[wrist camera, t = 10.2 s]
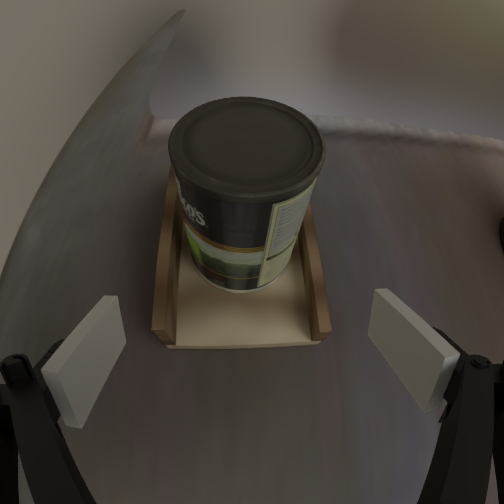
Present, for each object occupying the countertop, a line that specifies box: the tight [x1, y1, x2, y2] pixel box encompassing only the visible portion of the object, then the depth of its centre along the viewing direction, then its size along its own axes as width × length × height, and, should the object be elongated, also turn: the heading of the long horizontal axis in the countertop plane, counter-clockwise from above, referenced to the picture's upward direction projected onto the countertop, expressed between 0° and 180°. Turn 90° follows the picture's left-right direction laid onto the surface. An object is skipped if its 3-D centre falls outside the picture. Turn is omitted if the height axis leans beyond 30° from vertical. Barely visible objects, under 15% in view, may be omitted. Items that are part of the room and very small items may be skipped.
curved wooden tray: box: [151, 163, 331, 349], centre depth 30 cm, size 20×14×6 cm
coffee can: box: [168, 97, 326, 293], centre depth 25 cm, size 10×10×14 cm
